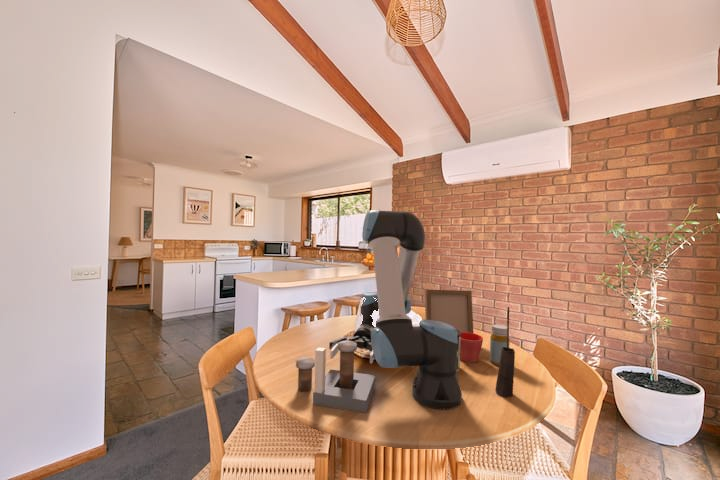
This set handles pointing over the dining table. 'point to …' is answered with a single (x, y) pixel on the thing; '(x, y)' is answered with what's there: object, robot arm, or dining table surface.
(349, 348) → the long pin
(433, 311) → the photo frame
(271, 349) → the dining table surface
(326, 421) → the dining table surface
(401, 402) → the dining table surface
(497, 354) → the bottle
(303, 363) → the short pin
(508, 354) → the walkie talkie
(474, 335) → the flower pot
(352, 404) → the hole block
